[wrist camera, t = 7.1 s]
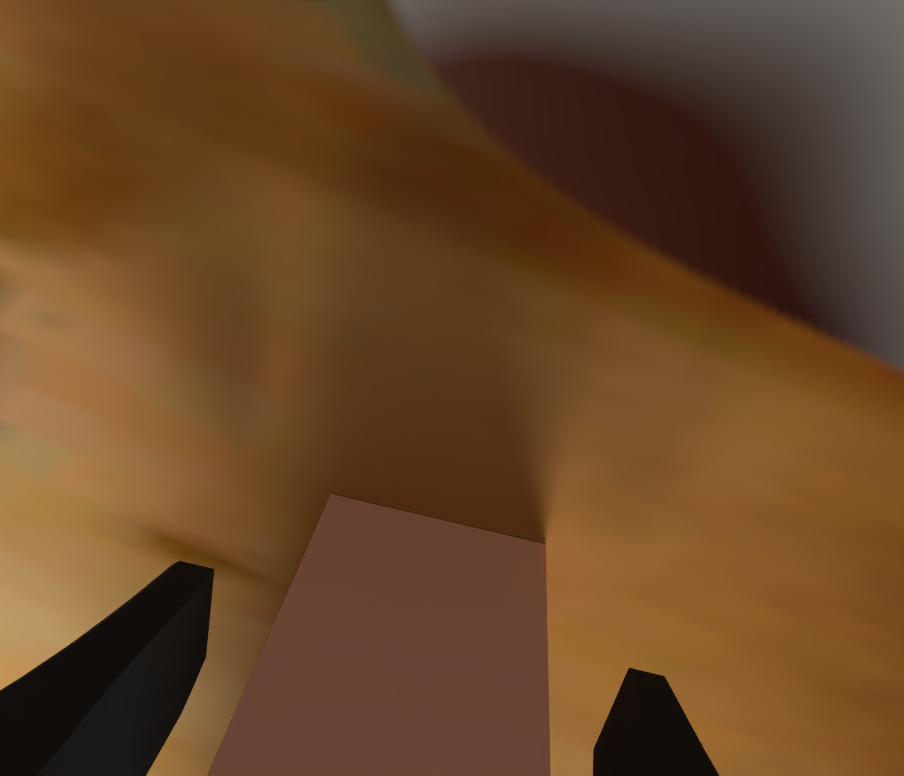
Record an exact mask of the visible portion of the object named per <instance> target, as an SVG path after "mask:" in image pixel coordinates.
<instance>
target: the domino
mask: <svg viewBox="0 0 904 776" xmlns="http://www.w3.org/2000/svg"><path fill="white" fill-rule="evenodd" d="M207 776H550V735H549V688H548V641H547V594H546V548H545V544H542V543H538V542H534V541H530V540H525V539H521V538H517V537H513V536H508V535H504V534H500V533H496V532H491V531H487V530H483V529H479V528H474V527H470V526H466V525H462V524H457V523H453V522H449V521H445V520H440V519H436V518H432V517H428V516H423V515H419V514H415V513H411V512H406V511H402V510H398V509H394V508H389V507H385V506H381V505H377V504H372V503H368V502H364V501H360V500H355V499H351V498H347V497H343V496H338V495H334V494H331V495H330V497H329V499H328V501H327V504H326V506H325V508H324V510H323V513H322V515H321V517H320V520H319V522H318V524H317V526H316V529H315V531H314V533H313V536H312V538H311V540H310V542H309V545H308V547H307V549H306V552H305V554H304V556H303V558H302V561H301V563H300V565H299V567H298V570H297V572H296V574H295V577H294V579H293V581H292V583H291V586H290V588H289V590H288V593H287V595H286V597H285V599H284V602H283V604H282V606H281V608H280V611H279V613H278V615H277V618H276V620H275V622H274V624H273V627H272V629H271V631H270V634H269V636H268V638H267V640H266V643H265V645H264V647H263V650H262V652H261V654H260V656H259V659H258V661H257V663H256V665H255V668H254V670H253V672H252V675H251V677H250V679H249V681H248V684H247V686H246V688H245V691H244V693H243V695H242V697H241V700H240V702H239V704H238V707H237V709H236V711H235V713H234V716H233V718H232V720H231V722H230V725H229V727H228V729H227V732H226V734H225V736H224V738H223V741H222V743H221V745H220V748H219V750H218V752H217V754H216V757H215V759H214V761H213V763H212V766H211V768H210V770H209V773H208V775H207Z"/></svg>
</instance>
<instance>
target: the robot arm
mask: <svg viewBox="0 0 904 776" xmlns="http://www.w3.org/2000/svg"><path fill="white" fill-rule="evenodd" d="M213 577H214V569H212V568H207V567H203V566H199V565H195V564H191V563H186V562H182V561H178V562H176V563H174V564H173V565H171V566H170V567H169V568H168V569H166V570H165V571H164V572H163V573H162V574H160V575H159V576H158V577H157V578H156V579H154V580H153V581H152V582H151V583H150V584H148V585H147V586H146V587H145V588H143V589H142V590H141V591H140V592H138V593H137V594H136V595H135V596H133V597H132V598H131V599H130V600H128V601H127V602H126V603H125V604H123V605H122V606H121V607H119V608H118V609H117V610H116V611H114V612H113V613H112V614H110V615H109V616H108V617H106V618H105V619H104V620H102V621H101V622H100V623H98V624H97V625H96V626H94V627H93V628H92V629H90V630H89V631H88V632H86V633H85V634H83V635H82V636H81V637H79V638H78V639H77V640H75V641H74V642H73V643H71V644H70V645H68V646H67V647H65V648H64V649H62V650H61V651H60V652H58V653H57V654H55V655H54V656H52V657H51V658H49V659H48V660H46V661H45V662H43V663H42V664H40V665H39V666H37V667H36V668H34V669H33V670H31V671H30V672H28V673H27V674H25V675H24V676H22V677H21V678H19V679H18V680H16V681H15V682H13V683H11V684H10V685H8V686H7V687H5V688H3V689H2V690H0V776H146V775H147V773H148V771H149V769H150V768H151V766H152V764H153V762H154V761H155V759H156V757H157V755H158V754H159V752H160V750H161V748H162V747H163V745H164V743H165V741H166V740H167V738H168V736H169V734H170V733H171V731H172V729H173V727H174V726H175V724H176V722H177V720H178V719H179V717H180V715H181V713H182V711H183V709H184V706H185V704H186V702H187V700H188V697H189V695H190V693H191V691H192V688H193V686H194V684H195V681H196V679H197V677H198V674H199V672H200V670H201V667H202V665H203V663H204V660H205V658H206V651H207V640H208V630H209V619H210V609H211V598H212V588H213ZM593 776H719V774H718V773H717V771H716V769H715V767H714V766H713V764H712V762H711V760H710V759H709V757H708V755H707V753H706V752H705V750H704V748H703V746H702V744H701V743H700V741H699V739H698V737H697V735H696V733H695V732H694V730H693V728H692V726H691V724H690V722H689V721H688V719H687V717H686V715H685V713H684V711H683V709H682V708H681V706H680V704H679V702H678V700H677V698H676V696H675V695H674V693H673V691H672V689H671V687H670V685H669V684H668V682H667V680H666V678H665V677H664V676H661V675H657V674H653V673H649V672H645V671H640V670H636V669H632V668H629V669H628V671H627V674H626V676H625V678H624V681H623V683H622V685H621V687H620V690H619V692H618V694H617V697H616V699H615V701H614V703H613V706H612V708H611V710H610V713H609V715H608V717H607V720H606V722H605V724H604V726H603V729H602V731H601V733H600V736H599V738H598V740H597V742H596V745H595V747H594V754H593Z"/></svg>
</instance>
